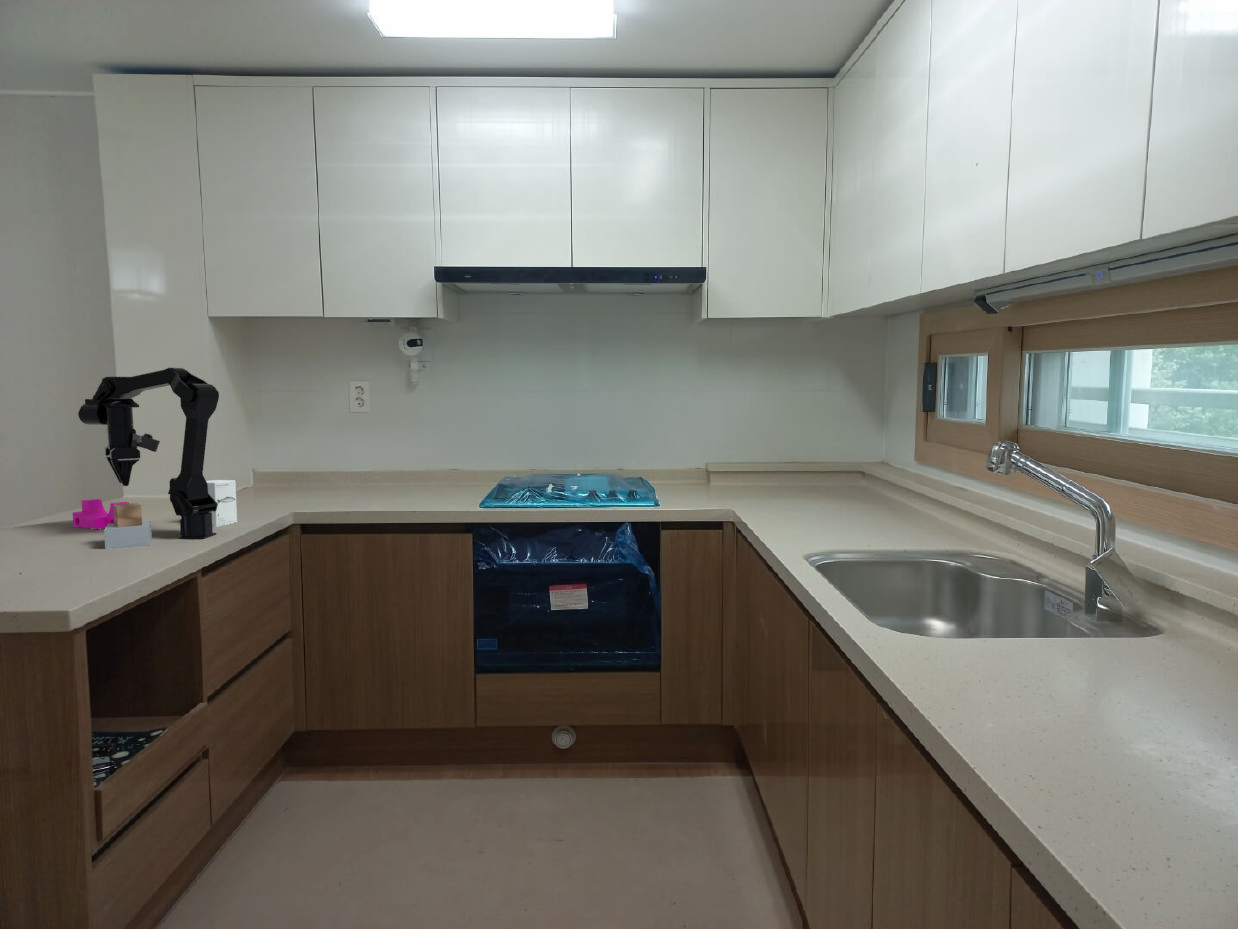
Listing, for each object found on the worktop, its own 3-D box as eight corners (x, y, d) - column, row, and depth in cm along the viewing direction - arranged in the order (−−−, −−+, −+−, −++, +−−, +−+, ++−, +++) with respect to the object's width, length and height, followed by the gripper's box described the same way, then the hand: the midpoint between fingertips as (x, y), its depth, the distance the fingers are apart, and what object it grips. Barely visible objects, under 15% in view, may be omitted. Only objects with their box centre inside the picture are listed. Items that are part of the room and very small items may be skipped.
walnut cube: (138, 522, 188) (137, 502, 188) (142, 525, 185) (141, 505, 184) (114, 524, 185) (113, 504, 185) (117, 527, 181) (116, 507, 181)
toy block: (73, 528, 208) (71, 501, 207) (97, 525, 214) (95, 498, 213) (107, 532, 202) (105, 505, 201) (130, 529, 207) (129, 502, 206)
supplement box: (216, 528, 207) (214, 482, 206) (196, 527, 210) (193, 481, 208) (238, 524, 214) (236, 480, 213) (218, 522, 216) (216, 479, 215)
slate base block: (151, 540, 191) (150, 521, 191) (149, 546, 184) (148, 526, 183) (109, 543, 187) (108, 523, 187) (105, 550, 179) (104, 529, 179)
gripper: (161, 425, 195) (164, 485, 196) (151, 423, 210) (154, 479, 211) (109, 426, 188) (113, 488, 189) (102, 424, 203) (106, 482, 204)
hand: (123, 484), depth 199 cm, fingers open, 9 cm apart
